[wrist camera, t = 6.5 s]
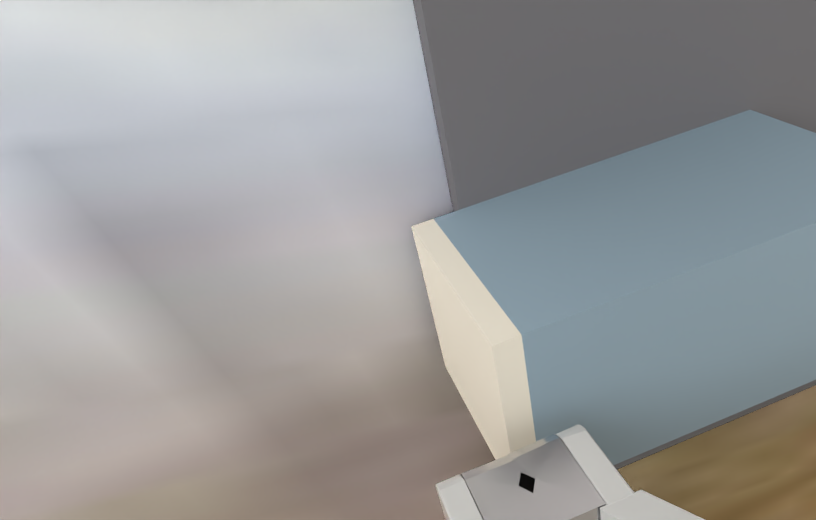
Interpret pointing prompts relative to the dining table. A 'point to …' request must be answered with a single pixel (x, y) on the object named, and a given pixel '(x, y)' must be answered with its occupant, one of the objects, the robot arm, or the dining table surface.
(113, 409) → the dining table surface
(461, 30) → the charcoal mat
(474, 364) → the slate block
